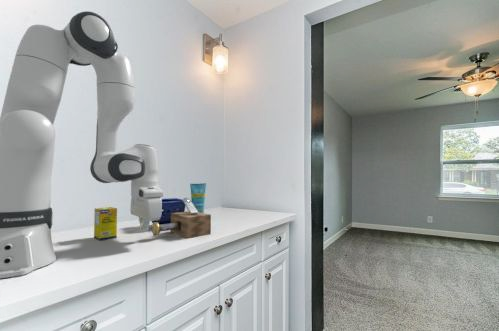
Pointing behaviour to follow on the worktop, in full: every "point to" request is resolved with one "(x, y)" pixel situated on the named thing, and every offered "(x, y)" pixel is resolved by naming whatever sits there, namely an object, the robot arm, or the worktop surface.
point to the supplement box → (105, 223)
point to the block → (192, 224)
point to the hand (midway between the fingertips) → (144, 230)
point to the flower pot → (170, 209)
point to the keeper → (190, 206)
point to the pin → (164, 227)
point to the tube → (198, 196)
